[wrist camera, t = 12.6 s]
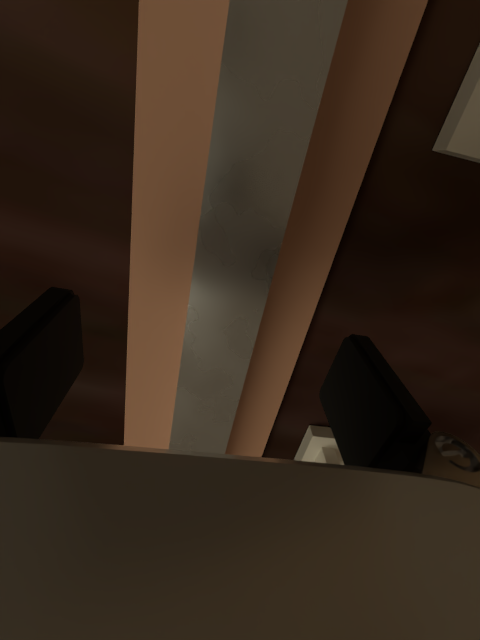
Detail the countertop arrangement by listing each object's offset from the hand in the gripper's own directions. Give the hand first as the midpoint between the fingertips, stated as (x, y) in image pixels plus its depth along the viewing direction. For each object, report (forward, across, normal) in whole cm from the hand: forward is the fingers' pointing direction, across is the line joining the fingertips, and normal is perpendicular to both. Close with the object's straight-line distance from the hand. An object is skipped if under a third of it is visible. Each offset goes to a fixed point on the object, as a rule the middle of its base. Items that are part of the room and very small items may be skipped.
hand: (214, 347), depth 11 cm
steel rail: (+6, 0, +1) cm, 6 cm away
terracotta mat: (+6, -1, +1) cm, 7 cm away
